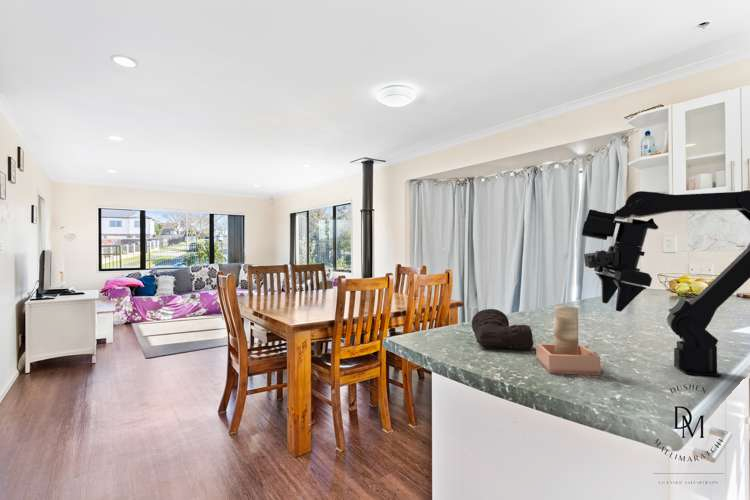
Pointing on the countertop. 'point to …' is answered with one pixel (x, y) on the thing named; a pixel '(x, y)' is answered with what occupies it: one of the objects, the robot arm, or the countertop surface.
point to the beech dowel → (566, 330)
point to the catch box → (568, 361)
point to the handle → (587, 347)
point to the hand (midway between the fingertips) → (611, 306)
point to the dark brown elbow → (500, 331)
